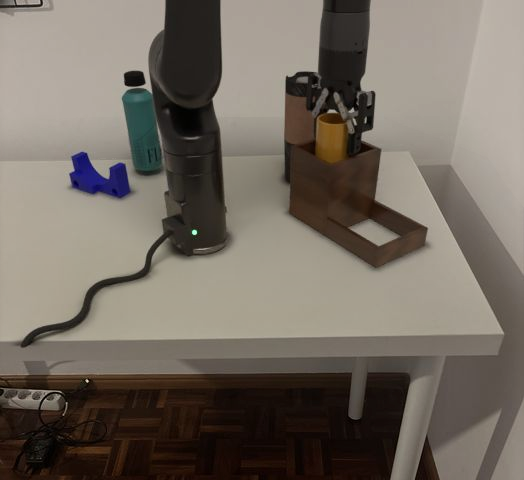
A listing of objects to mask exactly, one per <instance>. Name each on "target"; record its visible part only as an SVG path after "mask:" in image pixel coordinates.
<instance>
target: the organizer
mask: <svg viewBox="0 0 524 480" xmlns="http://www.w3.org/2000/svg"><path fill="white" fill-rule="evenodd" d="M315 146H316V139H312V140H309V141H306V142H302V143H299V144H296V145H292V146H291V161H290V184H289V214H290V215H291V216H293V217H294V218H296V219H298V220H299V221H301V222H302V223H304V224H305V225H307V226H309V228H312V229H313V230H315V231H317V232H318V233H320V234H322V235H323V236H325V237H327V238H328V239H329V240H331V241H332V242H334V243H336V244H338V245H339V246H341V247H342V248H344V249H346V250H347V251H349V252H351V254H353V255H355V256H357V257H358V258H360V259H362V260H363V261H365V262H366V263H368V264H369V265H371V266H373V267H374V268H376V269H377V268H379V267H382V266H383V265H386V264H388V263H390V262H392V261H394V260H396V259H399V258H400V257H402V256H406V255H408V254H410V253H412V252H414V251H416V250H418V249H421V248H422V247H424V246H425V244H426V240H427V237H428V230H429V227H427V226H426V225H423V224H421V223H420V222H418V221H416V220H414V219H413V218H410V217H408V216H406V215H404V214H403V213H401V212H400V211H399V212H398V211H397V210H395V209H393V208H391V207H389V206H387V205H385V204H383V203H381V202H380V201H378V200H376V194H377V186H378V180H379V179H378V178H379V171H380V163H381V155H382V148H380V147H378V146H375V145H373V144H371V143H369V142H367V141H364V140H363V139H361V148H360V151H359V152H358V153H357V154H355V155H352V156H350V155H349V158H346V159H343V160H340V161H337V162H334V163H329V162H327V161H325V160H323V159H321V158H319V157H317V156H315ZM369 219H370V220H372V221H374V222H376V223H377V224H379V225H381V226H383V227H385V228H387V230H388V229H389V230H390V231H392V232H393V233H395V234H397V235H399V237H397V238H396V237H395V238H394V239H392V240H389V241H388V242H385V243H382V244H379V245H378V244H376V243H374V242H372V241H371V240H369V239H367V238H366V237H364V236H362V235H361V234H359V233H358V232H356V231H354V230H352V228H351V229H350V228H349V227H351V226H354V225H356V224H358V223H359V224H360V223H362V222H364V221H366V220H369Z"/></svg>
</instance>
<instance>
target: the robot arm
mask: <svg viewBox="0 0 524 480" xmlns="http://www.w3.org/2000/svg"><path fill="white" fill-rule="evenodd" d="M164 1H165V2H164V4H165V5H164V21H163V22H164V23H163V24H164V26H163V29H161V30H160V31H159V32H158V33H157V34H156V36H155V37H154V38H153V40H152V42H151V44H150V47H149V50H148V57H147V63H148V64H147V65H148V75H149V81H150V89H151V93H152V95H153V101H154V108H155V114H156V120H157V127H158V132H159V136H160V139H161V148H162V154H163V161H164V167H165V176H166V183H167V190H165V191H164V193H163V196H164V204H165V210H166V211H165V212H166V217H164V218H162V219H161V226H162V234H161V235H160V236H159V237H158V238H157V239H156V240H155V241H154V242H153V243H152V245H151V246H150V247H149V249H148V251H147V252H146V255H145V261H144V266H143V267H142V269H141V270H139V271H138V272H136V273H134V274H130V275H125V276H116V277H109V278H104V279H101V280H99V281H96V282H94V284H93V285H91V286H90V287H89V288H88V290H87V291H86V293H85V296H84V299H83V303H82V307H81V309H80V311H79V312H78V313H77V314H76V315H75V316H74V317H73V318H71V319H70V320H67V321H64V322H59V323H52V324H51V323H50V324H46V325H42V326H39V327H37V328H35V329H32V331H30V332H29V333H28V334H27V335H26V336H25V337H24V338H23V340H22V342H21V343H20V348H22V349H24V348H27V347H28V346H29V345H30V343H32V341H33V340H34V339H35V338H36V337H38V336H40V335H43V334H45V333H50V332H56V331H62V330H65V329H69V328H71V327H74V326H76V325H77V324H79V323H80V322H81V321H83V319H85V317H86V315H87V314H88V312H89V309H90V306H91V302H92V297H93V296H94V294H95V293H96V292H97V291H98V290H100V289H101V288H103V287H105V286H108V285H114V284H115V285H116V284H122V283H127V282H132V281H136V280H139V279H141V278H142V277H144V276H145V275H146V274H147V273H148V272H149V271H150V269H151V267H152V260H153V257H154V254H155V253H156V251H157V249H159V247H160V246H161V245H162V244H163V243H164V242H166V240H167V239H168V240H169V241H170V242H171V244H173V245H174V246H175V247H176V248H177V249H178V250H180V252H181V253H182V254H184V255H185V256H187V257H190V256H192V255H207V254H211V253H214V252H218V251H219V250H222V249H223V248H224V247H225V246H226V245H227V244H228V241H229V236H228V227H227V214H228V210H227V209H228V207H227V206H226V197H225V180H224V164H223V149H222V134H221V127H220V123H219V119H218V117H217V114H216V110H215V106H214V105H215V104H214V97H215V96H216V94H217V93H218V90H219V88H220V85H221V82H222V78H223V47H222V45H223V44H222V16H221V15H222V14H221V13H222V11H221V9H222V7H221V5H222V4H221V3H222V0H164ZM371 1H372V0H322V11H321V18H320V24H319V37H318V38H319V41H318V57H317V58H318V59H317V73H314V74H310V75H308V83H307V96H306V110H307V111H311V112H312V116H313V117H314V130H313V132H314V138H315V139H316V126H317V117H318V116H319V115H321V114H325V113H329V112H330V111H335V113H340V114H341V116H342V119H343V120H344V121H346V123H347V126H348V129H349V132H350V133H348V140H347V152H346V153H347V154H348V155H350V156H352V155H355V154H357V153H358V152H359V151H360V148H361V140H362V139H363V138H362V137H363V133H365V132H369V131H372V130H373V129H374V120H375V111H376V110H375V108H376V96H377V95H376V92H375V91H374V90H369V91H366V90H362V85H361V83H362V79H363V78H364V76H365V74H366V67H367V58H368V51H369V50H368V49H369V40H370V39H369V38H370V30H371V3H372V2H371ZM314 96H315V102H313V97H314ZM352 110H353V111H352ZM351 111H352V112H351Z"/></svg>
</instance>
